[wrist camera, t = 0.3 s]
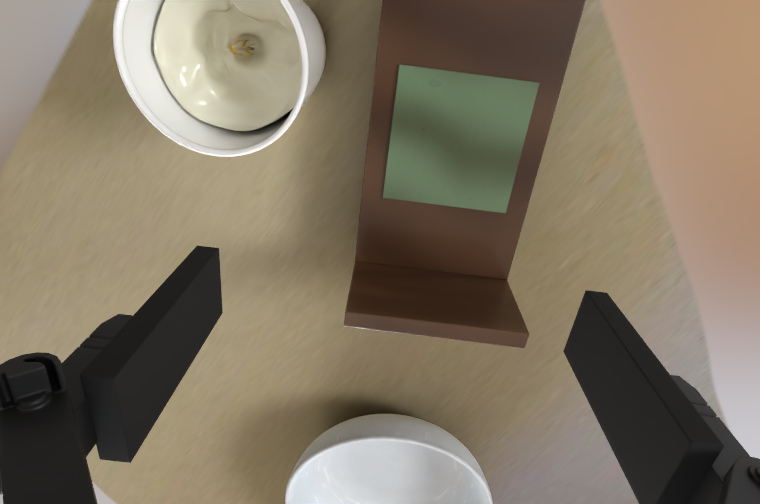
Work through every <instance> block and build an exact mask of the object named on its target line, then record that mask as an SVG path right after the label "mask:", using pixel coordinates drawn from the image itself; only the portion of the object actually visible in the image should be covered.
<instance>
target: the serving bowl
mask: <svg viewBox="0 0 760 504" xmlns="http://www.w3.org/2000/svg"><path fill="white" fill-rule="evenodd" d="M285 503H286V504H493V503H492V497H491V493H490V490H489V487H488V484H487V482H486V479H485V477H484V474H483V472H482V470H481V468H480V466H479V464H478V463H477V461H476V460H475V458H474V457H473V455H472V454H471V453H470V452H469V450H468V449H467V448H466V447H465V446H464V445H463V444H462V443H461V442H460V441H459V440H458V439H456V438H455V437H454V436H453V435H451V434H450V433H448V432H447V431H445V430H444V429H442V428H440V427H438V426H436V425H434V424H432V423H430V422H427V421H424V420H422V419H419V418H415V417H411V416H406V415H399V414H372V415H365V416H360V417H356V418H353V419H350V420H347V421H344V422H342V423H339V424H337V425H335V426H334V427H332V428H330V429H328V430H327V431H325V432H324V433H322V434H321V435H320V436H319V437H317V438H316V439H315V440H314V441H313V442H312V443H311V444H310V445H309V446H308V447H307V449H306V450H305V451H304V452H303V454H302V455H301V457H300V458H299V460H298V462H297V464H296V465H295V467H294V469H293V472H292V474H291V476H290V478H289V481H288V484H287V487H286V492H285Z"/></svg>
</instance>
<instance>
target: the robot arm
mask: <svg viewBox="0 0 760 504" xmlns="http://www.w3.org/2000/svg"><path fill="white" fill-rule="evenodd" d="M221 314H222V297H221V279H220V260H219V248H212V247H203V246H197V247H196V248H195V249H194V250H193V251H192V252H191V253H190V254H189V255H188V256H187V257H186V259H185V260H184V261H183V262H182V263H181V264H180V265H179V266H178V267H177V268H176V270H175V271H174V272H173V273H172V274H171V275H170V276H169V277H168V278H167V279H166V281H165V282H164V283H163V284H162V285H161V286H160V287H159V288H158V289H157V290H156V291H155V293H154V294H153V295H152V296H151V297H150V298H149V299H148V300H147V301H146V302H145V304H144V305H143V306H142V307H141V308H140V309H139V310H138V311H137V312H136V313H135V315H134V316H131V315H122V314H118V315H116V316H114V317H113V318H111V319H109V320H107V321H105V322H103V323H102V324H101V325H100V326H99V327H98V328H97V329H96V330H95V331H94V332H93V333H92V334H91V335H90V337H89V338H87V339H86V340H85V341H84V342H83V343H82V344H81V345H80V348H79V347H78V348H77V349H76V350H75V351H74V352H73V353H72V354H71V355H70V356H69V357H68V358H67V359H66V360H65V361H64V362H63V363H62V364H61V361H60V360H59V359H58V357H57V356H55V355H52V354H49V353H31V354H25V355H21V356H18V357H15V358H13V359H10V360H8V361H6V362H4V363H3V364H1V365H0V494H3V503H4V504H97V500H96V496H95V492H94V488H93V484H92V480H91V476H90V472H89V468H88V464H87V460H86V456H87V455H88V454H89V452H90V451H91V450H92V448H93V447H94V445H95V444H96V445H97V449H98V453H99V457H100V459H102V460H111V461H120V462H130V463H131V461H132V459H133V458H134V456H135V455H136V453H137V451H138V450H139V448H140V446H141V445H142V443H143V442H144V440H145V438H146V437H147V435H148V433H149V432H150V430H151V428H152V427H153V425H154V424H155V422H156V420H157V419H158V417H159V415H160V414H161V412H162V411H163V409H164V407H165V406H166V404H167V402H168V401H169V399H170V397H171V396H172V394H173V393H174V391H175V389H176V388H177V386H178V384H179V383H180V381H181V380H182V378H183V376H184V375H185V373H186V371H187V370H188V368H189V367H190V365H191V363H192V362H193V360H194V358H195V357H196V355H197V353H198V352H199V350H200V349H201V347H202V345H203V344H204V342H205V340H206V339H207V337H208V336H209V334H210V332H211V331H212V329H213V327H214V326H215V324H216V323H217V321H218V319H219V318H220V316H221ZM564 353H565V355H566V357H567V359H568V361H569V363H570V365H571V367H572V369H573V372H574V374H575V376H576V378H577V380H578V382H579V384H580V386H581V388H582V390H583V392H584V394H585V396H586V398H587V400H588V402H589V404H590V406H591V408H592V410H593V412H594V414H595V416H596V418H597V420H598V422H599V424H600V426H601V428H602V430H603V432H604V434H605V436H606V438H607V440H608V442H609V444H610V446H611V448H612V450H613V452H614V454H615V456H616V458H617V460H618V462H619V464H620V466H621V468H622V470H623V472H624V474H625V476H626V478H627V480H628V482H629V484H630V486H631V488H632V490H633V492H634V494H635V496H636V498H637V500H638V502H639V504H760V459H758V458H753V457H750V456H749V454H748V453H747V452H746V451H745V449H744V448H743V447H742V446H741V445H740V443H739V442H738V441H737V440H736V438H735V437H734V436H733V435H732V433H731V432H730V431H729V430H728V428H727V427H726V426H725V425H724V423H723V422H722V421H721V420H720V418H718V417H716V414H715V412H714V411H713V410H712V409H711V407H710V406H707V402H706V401H705V400H704V399H703V397H702V396H701V395H700V394H699V392H698V391H697V390H696V389H695V388H694V387H692V386H691V385H690V384H689V383H687V382H686V381H685V380H683V379H682V378H681V377H680V376H674V375H669V373H668V372H667V371H666V369H665V368H664V367H663V365H662V364H661V363H660V361H659V360H658V359H657V358H656V356H655V355H654V354H653V352H652V351H651V350H650V348H649V347H648V346H647V345H646V343H645V342H644V341H643V339H642V338H641V337H640V335H639V334H638V333H637V331H636V330H635V329H634V328H633V326H632V325H631V324H630V322H629V321H628V320H627V318H626V317H625V316H624V314H623V313H622V312H621V311H620V309H619V308H618V307H617V305H616V304H615V303H614V301H613V300H612V299H611V298H610V296H609V295H608V294H607V293H604V292H595V291H585V294H584V297H583V299H582V302H581V305H580V308H579V310H578V313H577V316H576V319H575V321H574V324H573V327H572V330H571V332H570V335H569V338H568V341H567V343H566V346H565V349H564Z"/></svg>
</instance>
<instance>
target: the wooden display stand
mask: <svg viewBox="0 0 760 504" xmlns="http://www.w3.org/2000/svg"><path fill="white" fill-rule="evenodd" d="M584 4H585V0H383V2H382V12H381V21H380V31H379V40H378V49H377V59H376V68H375V78H374V87H373V96H372V106H371V115H370V125H369V134H368V144H367V153H366V162H365V172H364V181H363V191H362V200H361V209H360V219H359V228H358V238H357V247H356V256H355V264H354V269H353V275H352V280H351V285H350V290H349V296H348V301H347V306H346V311H345V321H344V326H346V327H354V328H363V329H371V330H379V331H387V332H396V333H404V334H412V335H421V336H429V337H437V338H445V339H454V340H462V341H470V342H479V343H487V344H495V345H503V346H512V347H520V348H525V346H526V343H527V340H528V337H529V332H528V330H527V327H526V325H525V322H524V320H523V318H522V315H521V313H520V310H519V308H518V306H517V303H516V301H515V298H514V296H513V294H512V291H511V289H510V286H509V284H508V282H507V278H508V275H509V271H510V268H511V264H512V260H513V257H514V253H515V250H516V246H517V243H518V239H519V235H520V232H521V228H522V225H523V221H524V218H525V214H526V211H527V207H528V203H529V200H530V196H531V193H532V189H533V186H534V182H535V178H536V175H537V171H538V168H539V164H540V161H541V157H542V153H543V150H544V146H545V143H546V139H547V136H548V132H549V129H550V125H551V121H552V118H553V114H554V111H555V107H556V104H557V100H558V96H559V93H560V89H561V86H562V82H563V79H564V75H565V72H566V68H567V64H568V61H569V57H570V54H571V50H572V47H573V43H574V39H575V36H576V32H577V29H578V25H579V22H580V18H581V14H582V11H583V7H584Z"/></svg>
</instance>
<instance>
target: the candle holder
mask: <svg viewBox="0 0 760 504" xmlns="http://www.w3.org/2000/svg"><path fill="white" fill-rule="evenodd" d="M113 46H114V53H115V58H116V62H117V66H118V69H119V72H120V75H121V78H122V80H123V83H124V85H125V87H126V89H127V91H128V93H129V95H130V96H131V98H132V100H133V101H134V103H135V104H136V106H137V107H138V108H139V110H140V111H141V112H142V114H143V115H144V116H145V117H146V118H147V119H148V120H149V121H150V122H151V123H152V124H153V125H154V126H155V127H156V128H157V129H158V130H159V131H160V132H162V133H163V134H164V135H166V136H167V137H168V138H170V139H172V140H173V141H175V142H176V143H178V144H180V145H182V146H184V147H186V148H188V149H191V150H193V151H196V152H199V153H203V154H207V155H213V156H222V157H231V156H240V155H246V154H249V153H253V152H256V151H258V150H260V149H263V148H264V147H266V146H268V145H270V144H271V143H273V142H274V141H275V140H277V139H278V138H279V137H280V136H281V135H282V134H283V133H284V132H285V131H286V130H287V129H288V128H289V127H290V125H291V124H292V123H293V121H294V120H295V118H296V116H297V115H298V113H299V111H300V109H301V108H302V107H303V105H304V104H305V103H306V101H307V100H308V99H309V97H310V96H311V94H312V93H313V92H314V90H315V89H316V87H317V85H318V83H319V82H320V79H321V77H322V74H323V71H324V67H325V62H326V44H325V38H324V34H323V31H322V28H321V26H320V23H319V21H318V19H317V17H316V16H315V14H314V13H313V11H312V10H311V8H310V7H309V6H308V5H307V4H306V3H305V2H304V1H303V0H118V2H117V6H116V9H115V14H114V21H113Z"/></svg>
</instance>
